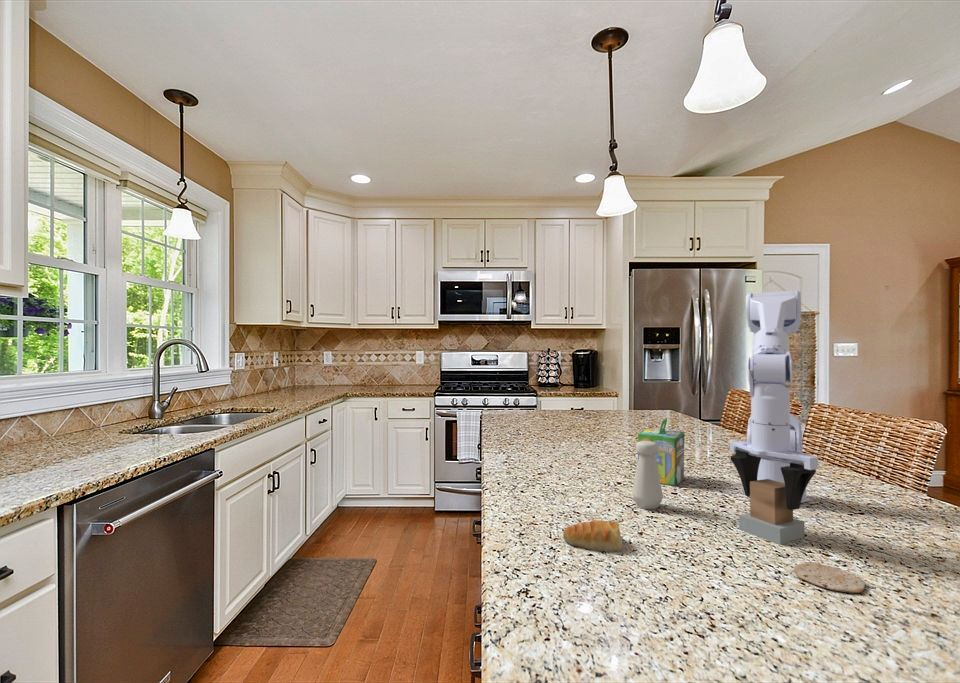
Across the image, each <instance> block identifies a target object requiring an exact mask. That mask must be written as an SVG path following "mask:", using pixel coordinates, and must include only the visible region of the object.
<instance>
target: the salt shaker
mask: <svg viewBox="0 0 960 683" xmlns="http://www.w3.org/2000/svg"><path fill="white" fill-rule="evenodd" d="M635 444H636V445H635V452H636V454H638V453H639V460H638V459H637V466H636V471H635V477H634V482H633V486H632V492H631V493H632V497H633V499H634V500H633V501H634V502H635V505H636V506H637V507H638V508H640V509H643V510H656V509H659V508H660V505H661V503H662V501H663V498H664V497H663V496H664V495H663V490H662V484H661V483H660V478H659V473H658V467H657V462H656V457H655V455H656V454H658V445H657V444H656V443H655V442H651V441H639V442H638V441H637V442H636V443H635Z"/></svg>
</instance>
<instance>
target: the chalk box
mask: <svg viewBox="0 0 960 683" xmlns="http://www.w3.org/2000/svg"><path fill="white" fill-rule="evenodd" d="M667 422H668V417H666V418H664V419H662V421H661V424H660V429H659V428H652V427H647V428H645V429H644V430H642V431H641V432H639V433H637V443H638V442H639V441H651V442H655V443H656V444H657V445H658V454H656V455H655V457H656V462H657V467H658V473H659V478H660V483H661V485H666V486H671V485H672V486H673V487H677V486H678V485H679V484H680V483H681V482H682V480H683V479H685V434H686V433H685V432H684V431H677V430H669V429H666V426H667ZM638 460H639V453H637V461H638Z"/></svg>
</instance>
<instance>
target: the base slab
mask: <svg viewBox="0 0 960 683" xmlns="http://www.w3.org/2000/svg"><path fill="white" fill-rule="evenodd" d="M738 530H739V531H740V530H741V532H743V531H744V532H743V533H747V534H749V535H751V534H752V536H755V537H757V538H759V539H763V540H765V539H766V541H768V542H771V543H773V542H774V544H776V545H780V546H781V545H784V544H788V543H791V542H794V541H796V540H799V539H802V538H805V536H806V535H805V532H806V530H805V521H803V520H799V519H797V518H794V517H793V521H791V522H786V523H781V524H776V525H774V524H772V523H769V522H766V521H763V520H760V519H758V518H755V517H752V516H750V512H748V513H747V512H746V513H743V514H738Z"/></svg>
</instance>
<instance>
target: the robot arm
mask: <svg viewBox="0 0 960 683" xmlns="http://www.w3.org/2000/svg"><path fill="white" fill-rule="evenodd" d="M745 315H746V316H745V317H746V320H747V327H748V329H749V332H751V333H753V334H754V335H753V340H752V341H753V342H752V349H751V357H750V356H748V359H747V366H746V368H747V372H746V373H747V382H748V386H749V396H750V397H751V398H750V407H751V408H750V409H751V410H750V413H751V414H750V416H749V418H748V420H747V421H748V422H747V429H746V430H747V432H746V440H747V441H742V440H741V441H740V440H730V441H729V452H730V453H734V454H732V455H730V461H731V462H732V464H733V466H734V467H735V469H736V471H737V473H738V475H739V478H740V481H741V485H742V487H743V491H744V494H745V496H746V497H749V498H750V481H757V480H764V479H770V480H773V481H777V482H781V483H785V488H786V505H787V509H789V510H793V511H795V510H799V509H800V507H801V503H807V502H811V498H809V497H807V487H808V485H809V483H810V481H811V480H812V479H813V477H814V475H815V474H816V473H817V472H816V471H817V470H819V457H818V456H815V455H810V454H806V453H804V452H803V449H804V448H803V447H804V446H803V430H802V422H801V421H800V419H799V418H798V417H796V416H795V415H794V414H792V413H791V403H790V402H791V401H790V400H791V396H790V394H791V392H790V390H791V389H790V388H792V385H793V359H792V356H791V350H790V338H789V336H790V335H791V334H793V333H796V332H798V331H799V328H800V326H801V318H802V294H801V291H799V289H794V290H784V291H783V290H782V291H781V290H780V291H766V292H752V291H750V292H748V293H747V294H746V296H745ZM787 383H789V386H787ZM789 387H790V388H789Z"/></svg>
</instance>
